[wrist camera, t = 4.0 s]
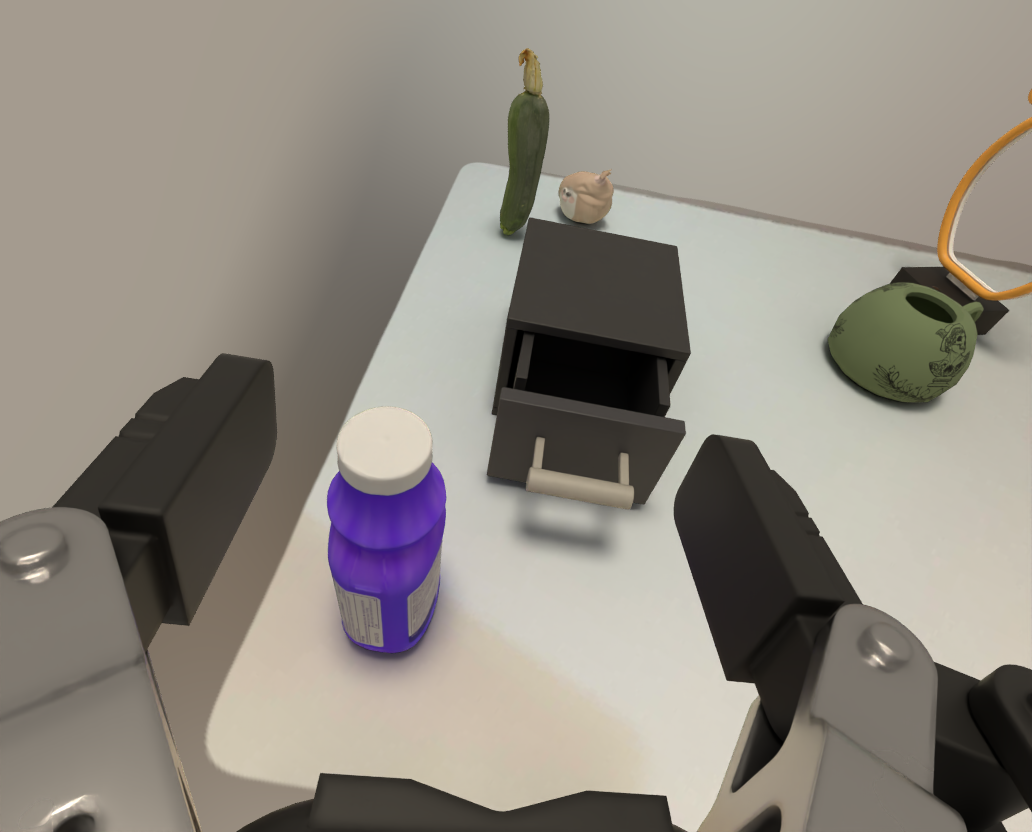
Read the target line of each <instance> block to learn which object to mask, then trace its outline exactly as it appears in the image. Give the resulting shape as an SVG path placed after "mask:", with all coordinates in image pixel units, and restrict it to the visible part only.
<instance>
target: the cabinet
mask: <svg viewBox="0 0 1032 832" xmlns="http://www.w3.org/2000/svg"><path fill="white" fill-rule="evenodd" d="M523 331H529V332H535V333H540V334H545V335H550V336H556V337H561V338H566V339H571V340H577V341H582V342H587V343H592V344H597V345H603V346H608V347H613V348H618V349H624V350H629V351H634V352H639V353H645V354H650V355H655V356H660V357H666V359H667V371H668V383H669V395H670V393H671V391H672V389H673V387H674V385H675V383H676V381H677V380H678V378H679V376H680V374H681V372H682V370H683V368H684V366H685V364H686V361H687V360H688V358H689V356H690V354H691V351H690V343H689V336H688V328H687V320H686V312H685V304H684V296H683V289H682V281H681V273H680V265H679V257H678V249H677V246H673V245H668V244H663V243H658V242H653V241H648V240H643V239H637V238H632V237H627V236H622V235H617V234H612V233H607V232H602V231H597V230H591V229H586V228H581V227H576V226H571V225H566V224H561V223H556V222H551V221H545V220H540V219H535V218H529V220H528V225H527V229H526V234H525V239H524V243H523V248H522V253H521V257H520V262H519V266H518V271H517V276H516V280H515V285H514V290H513V294H512V299H511V304H510V308H509V313H508V317H507V323H506V330H505V336H504V342H503V348H502V354H501V360H500V367H499V373H498V379H497V385H496V391H495V397H494V404H493V410H492V414H495V415H497V412H498V406H499V401H500V395H501V390H502V387H506V388H512V389H513V384H514V379H515V373H516V368H517V362H518V357H519V352H520V347H521V341H522V336H523Z"/></svg>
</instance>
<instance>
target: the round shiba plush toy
mask: <svg viewBox="0 0 1032 832" xmlns="http://www.w3.org/2000/svg"><path fill="white" fill-rule="evenodd" d="M610 171H611V170H607V171H603V172H602V174H601V175H598V174H595V173H589V172H577V173H575V174H571V175H569V176H567V177H565V178H564V179H563V181H562V182H561V184H560V187H559V192H558V193H559V198H560V206H561V209H562V211H563V213H564V214H565V216H566V217H568V218H569V219H571V220H573V221H575V222H583V223H586V224H592V223H595V222H597V221H599V220H600V219H602V218H603V217H604V216H606V215H607V213H608V212H609V211H610V209H611V206H612V196H613V186H612V184H611V183H610V181H609V179H608V178H607V177H606V176H608V175H610V174H611V173H610Z"/></svg>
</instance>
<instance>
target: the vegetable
mask: <svg viewBox="0 0 1032 832" xmlns="http://www.w3.org/2000/svg"><path fill="white" fill-rule="evenodd" d="M537 58H538V56H536V55H535V54H534V52H532V51H531V50H529V49H528V48H527V49H525V50H523V51H522V52H521V53H520V56H519V63H520V64H519V65H520V66H521V65H522V64H523V63H524V59H525V61H526V65H525V68H524V79H523V81H524V85H525V87H524V89H525V90H526V91H525V92H523V93H521V94H519V95H518V96H517V97H516V98H515V99H514V100H513V102H512V104H511V107H510V111H509V116H508V153H509V161H510V169H509V178H508V181H507V185H506V190H505V194H504V199H503V203H502V207H501V210H500V222H501V223H500V227H501V229H503V233H504V234H506V235H511V234H513V233H514V232H515V231H516V230H518V229H520V228H521V227H523V226H524V225H525V223H526V221H527V219H528V217H529V214H530V212H531V210H532V207H533V204H534V200H535V195H536V191H537V187H538V182H539V178H540V174H541V168H542V163H543V159H544V154H545V149H546V143H547V137H548V129H549V110H548V106H547V103H546V101H545V99H544V98H543V97H542V96H541V94H542V92H541V90H542V87H543V82H542V78H541V72H540V71H541V70H540V63H539V62H538V61H537Z"/></svg>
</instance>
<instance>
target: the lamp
mask: <svg viewBox="0 0 1032 832" xmlns="http://www.w3.org/2000/svg"><path fill="white" fill-rule="evenodd" d="M1028 100H1029V102H1030V103H1031V104H1032V89H1031V91H1030V93H1029V96H1028ZM1031 132H1032V117H1031V118H1029V119H1027V120H1026V121H1024V122H1022V123H1020V124H1019V125H1017V126H1016V127H1014V128H1013V129H1011V130H1010V131H1009V132H1007V133H1006V134H1005V135H1003V136H1002V137H1001V138H999V139H998V140H997V141H996V142H995V143H993V144H992V145H991V146H990V147H989V148H988V149H987V150H986V151H985V152H984V153H983V154H982V155H981V156H980V157H979V158H978V159H977V160H976V161H975V162H974V164H973V165H972V166H971V167H970V169H969V170H968V171H967V172H966V174H965V175H964V177H963V178H962V180H961V181H960V183H959V185H958V186H957V188H956V190H955V191H954V193H953V195H952V197H951V199H950V202H949V204H948V206H947V209H946V212H945V214H944V218H943V221H942V224H941V228H940V232H939V237H938V246H937V252H938V258H939V261H940V262H941V264H942V265H943V266H944V267H902V268H901V270H900V271H899V272H898V274H897V275H896V276H895V277H894V279H893V280H892V281H891V283H890V284H893V283H898V282H899V283H914V284H918V285H922V286H926V287H929V288H931V289H934V290H936V291H938V292H940V293H943V294H945V295H946V296H948V297H949V298H951V299H953V300H954V301H956V302H957V303H959V304H960V305H961V306H962V307H963V306H965V305H967V304H969V303H973V302H979V303H981V305H982V307H983V311H982V313H981V315H980V317H979V318H978V319H977V320H976V321H975V325H976V329H977V334H978V335H983V334H986V333H987V332H988V331H989V330H990V329H991V328H992V327H993V326H994V325H995V324H996V323H997V322H998V321H999V320H1000V319H1001V318H1002V317H1003V316H1004V315H1005V314H1006V313H1007V312H1008V311H1009V309H1007V308H1006V307H1005V306H1004V305H1003V304H1001V303H1000V302H999V301H998V300H1011V299H1017V298H1022V297H1025V296H1028V295H1031V294H1032V282H1030V283H1028V284H1025V285H1023V286H1020V287H1017V288H1014V289H1011V290H1007V291H1003V292H997V291H995V290H993V289H992V288H990V287H989V286H988V285H987V284H985V283H984V282H983V281H982V280H981V279H979V278H978V277H977V276H976V275H974V274H973V273H972V272H971V271H970V270H968V269H967V268H966V267H965V266H964V265H962V264H961V263H960V262H959V261H958V260H957V259H956V258H955V256H954V253H953V244H954V236H955V232H956V229H957V225H958V221H959V218H960V215H961V212H962V210H963V208H964V205H965V203H966V201H967V198H968V197H969V195H970V193H971V191H972V190H973V188H974V187H975V185H976V184H977V182H978V180H979V179H980V178H981V176H982V175H983V174H984V172H985V171H986V170H987V169H988V168H989V167H990V165H991V164H992V163H993V162H994V161H995V160H996V159H997V158H998V157H999V156H1000V155H1001V154H1002V153H1003V152H1005V151H1006V150H1007V149H1008V148H1009V147H1011V146H1012V145H1013V144H1014V143H1016V142H1017V141H1019V140H1020V139H1022V138H1023V137H1024V136H1026V135H1027V134H1029V133H1031Z"/></svg>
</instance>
